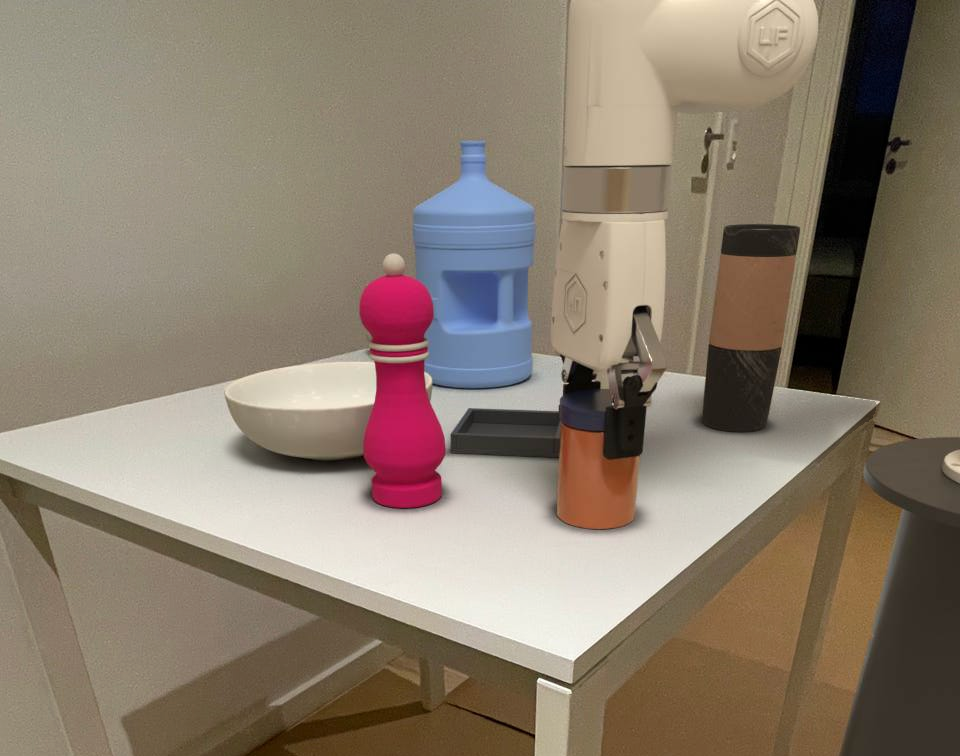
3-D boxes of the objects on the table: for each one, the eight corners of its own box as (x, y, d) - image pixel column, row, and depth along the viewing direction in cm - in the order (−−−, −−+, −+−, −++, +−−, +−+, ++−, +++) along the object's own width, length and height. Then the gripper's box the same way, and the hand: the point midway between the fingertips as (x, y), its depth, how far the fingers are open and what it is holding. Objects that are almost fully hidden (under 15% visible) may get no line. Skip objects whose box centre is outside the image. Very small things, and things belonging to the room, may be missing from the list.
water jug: (397, 374, 117) (384, 142, 103) (486, 359, 126) (484, 142, 112) (463, 396, 107) (458, 139, 93) (555, 378, 115) (564, 139, 101)
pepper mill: (389, 479, 80) (373, 248, 70) (459, 487, 77) (453, 250, 67) (352, 504, 74) (329, 257, 64) (427, 515, 72) (415, 259, 62)
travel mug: (773, 418, 96) (805, 224, 86) (763, 436, 90) (796, 230, 80) (706, 411, 99) (730, 223, 89) (692, 428, 93) (716, 228, 83)
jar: (635, 502, 74) (644, 397, 69) (634, 531, 68) (644, 418, 64) (560, 498, 75) (564, 394, 70) (553, 527, 69) (557, 415, 65)
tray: (567, 429, 94) (568, 411, 92) (559, 457, 85) (560, 438, 84) (468, 425, 95) (468, 407, 94) (451, 453, 87) (450, 434, 86)
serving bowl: (394, 412, 100) (390, 352, 97) (466, 461, 84) (465, 392, 81) (217, 435, 93) (206, 371, 89) (259, 494, 76) (247, 419, 73)
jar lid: (554, 429, 65) (554, 410, 64) (562, 405, 71) (562, 387, 70) (645, 432, 64) (646, 412, 63) (646, 407, 70) (647, 389, 69)
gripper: (520, 193, 65) (517, 421, 74) (627, 203, 51) (608, 482, 60) (606, 191, 68) (593, 412, 77) (732, 200, 53) (698, 470, 62)
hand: (600, 441), depth 68 cm, fingers closed on jar lid, 6 cm apart
